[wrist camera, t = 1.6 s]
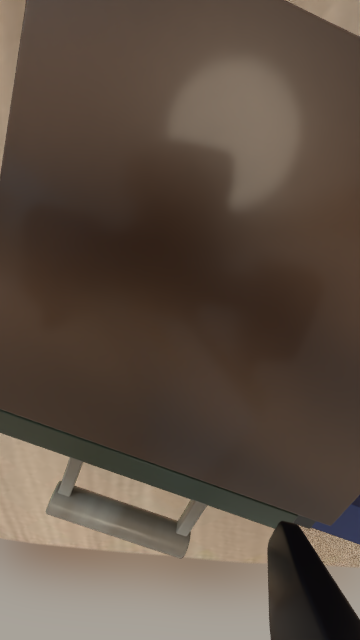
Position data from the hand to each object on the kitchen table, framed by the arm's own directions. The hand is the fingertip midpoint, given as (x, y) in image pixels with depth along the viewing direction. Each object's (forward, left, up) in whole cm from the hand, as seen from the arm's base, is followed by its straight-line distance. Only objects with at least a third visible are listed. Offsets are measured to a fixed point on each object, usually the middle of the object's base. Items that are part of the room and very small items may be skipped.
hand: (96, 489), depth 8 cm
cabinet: (-2, -4, -13) cm, 14 cm away
